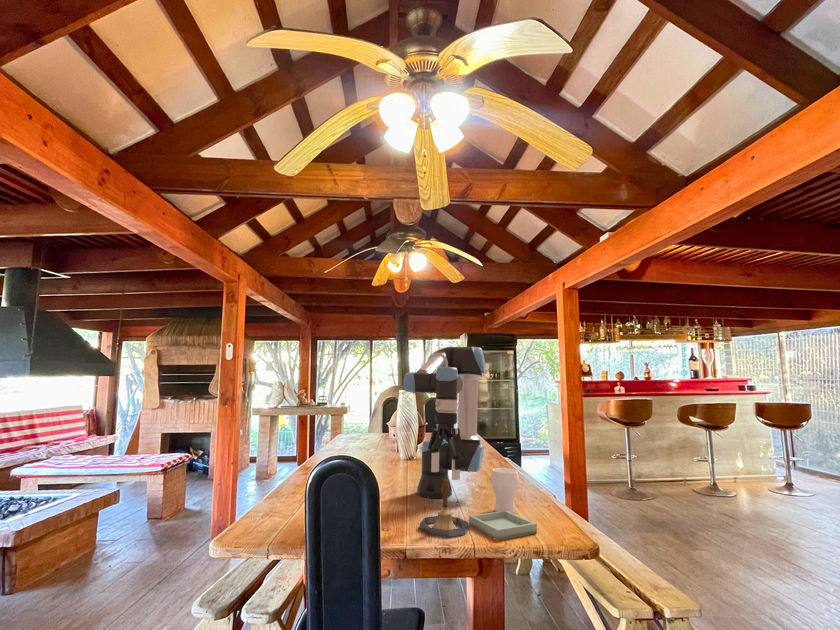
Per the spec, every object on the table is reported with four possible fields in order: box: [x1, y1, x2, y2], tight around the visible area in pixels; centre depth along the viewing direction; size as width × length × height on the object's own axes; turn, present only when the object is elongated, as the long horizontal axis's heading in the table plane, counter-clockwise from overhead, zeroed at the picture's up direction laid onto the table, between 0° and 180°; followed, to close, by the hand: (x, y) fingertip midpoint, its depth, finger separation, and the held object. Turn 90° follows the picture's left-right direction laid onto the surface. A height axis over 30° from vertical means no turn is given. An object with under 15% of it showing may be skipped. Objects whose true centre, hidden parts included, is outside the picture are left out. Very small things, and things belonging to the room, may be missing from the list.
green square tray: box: [468, 510, 538, 541], centre depth 150 cm, size 16×16×3 cm
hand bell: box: [431, 479, 458, 530], centre depth 150 cm, size 8×8×16 cm
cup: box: [490, 467, 520, 514], centre depth 171 cm, size 11×11×15 cm
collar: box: [419, 515, 470, 538], centre depth 149 cm, size 15×15×2 cm
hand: (445, 475), depth 151 cm, fingers open, 13 cm apart
